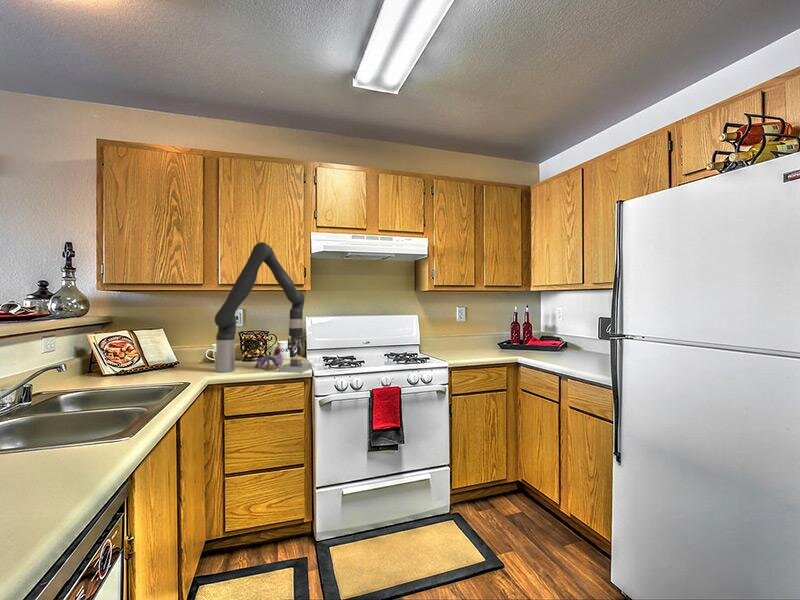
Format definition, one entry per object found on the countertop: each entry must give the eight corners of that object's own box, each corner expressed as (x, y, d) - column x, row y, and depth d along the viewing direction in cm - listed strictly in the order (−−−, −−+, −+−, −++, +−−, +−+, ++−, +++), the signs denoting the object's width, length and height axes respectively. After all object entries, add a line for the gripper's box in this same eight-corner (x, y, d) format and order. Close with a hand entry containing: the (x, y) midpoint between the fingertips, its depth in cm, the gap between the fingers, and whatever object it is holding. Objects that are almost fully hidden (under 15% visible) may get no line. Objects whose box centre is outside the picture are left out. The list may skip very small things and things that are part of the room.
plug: (290, 371, 211) (290, 357, 211) (294, 369, 215) (294, 356, 215) (297, 371, 210) (297, 358, 210) (301, 369, 214) (301, 357, 214)
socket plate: (279, 372, 208) (279, 366, 208) (290, 367, 220) (290, 362, 220) (301, 372, 205) (301, 366, 205) (311, 368, 218) (311, 363, 218)
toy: (282, 376, 225) (291, 352, 231) (264, 368, 214) (274, 343, 220) (270, 374, 230) (279, 351, 236) (251, 366, 219) (262, 342, 225)
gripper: (295, 326, 220) (294, 354, 220) (283, 327, 206) (282, 357, 206) (307, 326, 219) (307, 355, 219) (296, 328, 205) (295, 358, 205)
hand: (295, 356), depth 213 cm, fingers open, 8 cm apart
